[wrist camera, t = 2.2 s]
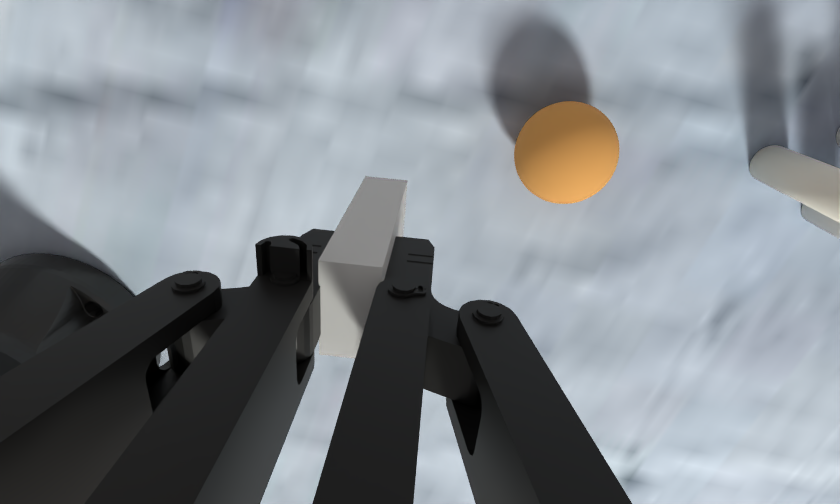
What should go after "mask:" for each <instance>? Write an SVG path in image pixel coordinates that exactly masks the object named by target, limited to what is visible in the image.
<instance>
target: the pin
mask: <svg viewBox="0 0 840 504" xmlns="http://www.w3.org/2000/svg"><path fill="white" fill-rule="evenodd" d="M801 214H802V217H803V218H804V219H805V220H806V221H808V222H810V223H812V224H813V225H815V226H817V227H819V228H821V229H822V230H824V231H826V232H828V233H829V234H831V235H833V236H835V237H837V238H838V239H840V223H839V222H837V221H835V220H833V219H831V218H829V217H827V216H825V215H823V214H822V213H820V212H818V211H816V210H814V209H812V208H810V207H808V206H806V205H804V204H803V205H802V208H801Z"/></svg>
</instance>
